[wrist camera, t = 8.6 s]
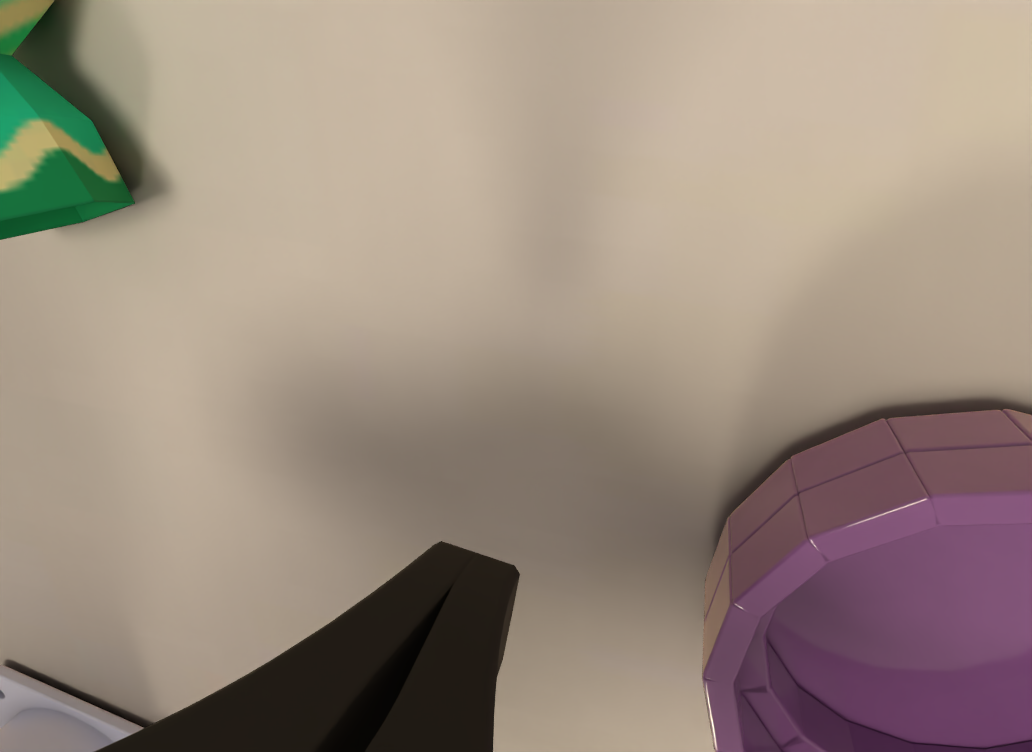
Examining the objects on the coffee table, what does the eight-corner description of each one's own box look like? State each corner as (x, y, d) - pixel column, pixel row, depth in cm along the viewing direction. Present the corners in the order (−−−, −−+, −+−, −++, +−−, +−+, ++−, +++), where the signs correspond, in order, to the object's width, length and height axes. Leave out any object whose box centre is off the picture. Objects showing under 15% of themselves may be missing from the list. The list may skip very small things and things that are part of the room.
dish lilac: (1069, 818, 13) (1164, 1005, 10) (665, 676, 14) (653, 802, 12) (1355, 480, 9) (1616, 624, 7) (782, 346, 11) (803, 417, 8)
